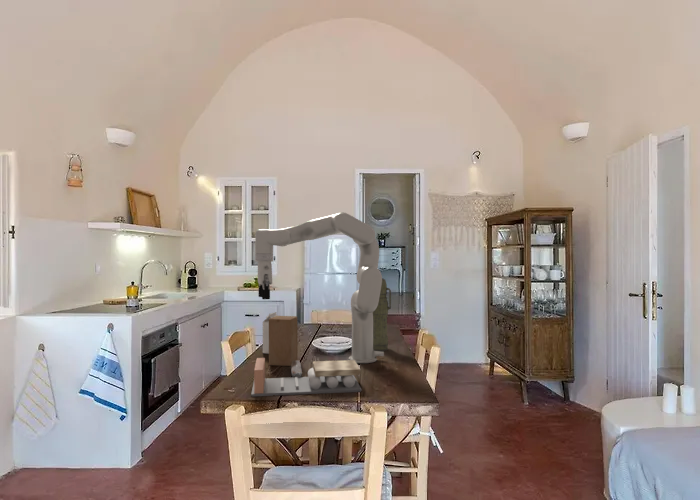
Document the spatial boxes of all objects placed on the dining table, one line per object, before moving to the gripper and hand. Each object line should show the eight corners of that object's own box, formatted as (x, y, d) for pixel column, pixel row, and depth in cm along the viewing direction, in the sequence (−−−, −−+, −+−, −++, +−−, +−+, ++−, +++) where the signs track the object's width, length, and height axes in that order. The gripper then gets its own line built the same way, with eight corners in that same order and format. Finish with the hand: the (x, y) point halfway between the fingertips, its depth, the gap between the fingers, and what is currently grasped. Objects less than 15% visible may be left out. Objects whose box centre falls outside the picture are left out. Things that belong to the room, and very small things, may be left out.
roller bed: (353, 377, 187) (353, 354, 187) (361, 391, 168) (361, 366, 168) (254, 381, 182) (254, 357, 182) (251, 396, 163) (251, 370, 163)
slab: (354, 365, 185) (354, 360, 185) (360, 374, 171) (360, 369, 171) (312, 366, 182) (312, 361, 182) (315, 376, 168) (315, 371, 168)
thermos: (367, 347, 243) (367, 277, 242) (390, 347, 242) (390, 278, 242) (366, 350, 234) (366, 279, 234) (391, 351, 233) (391, 279, 233)
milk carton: (282, 351, 233) (282, 312, 233) (275, 354, 226) (275, 314, 226) (269, 350, 235) (269, 311, 235) (262, 353, 228) (262, 313, 228)
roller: (300, 369, 200) (300, 360, 200) (301, 378, 186) (302, 368, 186) (290, 369, 199) (291, 360, 199) (291, 378, 185) (291, 368, 185)
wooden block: (290, 366, 204) (290, 319, 203) (268, 365, 206) (268, 318, 205) (297, 361, 213) (297, 316, 213) (276, 360, 215) (276, 315, 215)
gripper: (276, 258, 199) (276, 299, 199) (269, 257, 215) (269, 295, 215) (258, 258, 196) (258, 300, 196) (252, 257, 212) (252, 296, 212)
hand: (264, 298), depth 206 cm, fingers open, 9 cm apart
